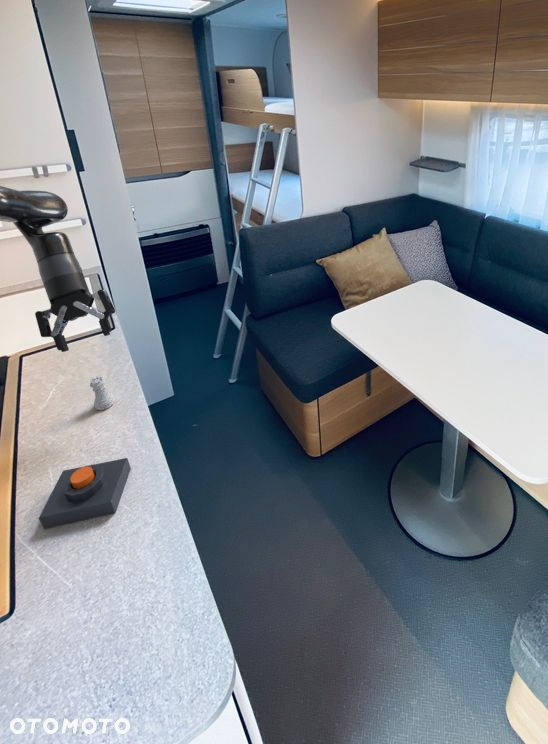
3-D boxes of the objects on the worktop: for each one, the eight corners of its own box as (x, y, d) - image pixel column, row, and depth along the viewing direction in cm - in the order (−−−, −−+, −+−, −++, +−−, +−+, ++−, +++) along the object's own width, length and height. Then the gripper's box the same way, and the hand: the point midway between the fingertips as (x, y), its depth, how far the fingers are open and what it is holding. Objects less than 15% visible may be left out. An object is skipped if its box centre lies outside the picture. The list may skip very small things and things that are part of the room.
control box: (44, 529, 76) (34, 511, 74) (67, 481, 85) (60, 464, 83) (115, 513, 78) (108, 495, 76) (131, 468, 87) (125, 451, 85)
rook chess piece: (100, 413, 102) (91, 388, 98) (91, 406, 104) (82, 381, 101) (118, 402, 105) (110, 377, 102) (109, 395, 107) (101, 371, 104)
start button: (69, 491, 78) (66, 485, 77) (77, 474, 81) (74, 468, 80) (90, 487, 78) (87, 480, 78) (97, 470, 82) (95, 464, 81)
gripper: (17, 287, 88) (42, 358, 87) (91, 263, 93) (115, 330, 91) (35, 290, 95) (58, 355, 94) (102, 268, 100) (125, 330, 98)
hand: (86, 343), depth 93 cm, fingers open, 8 cm apart
